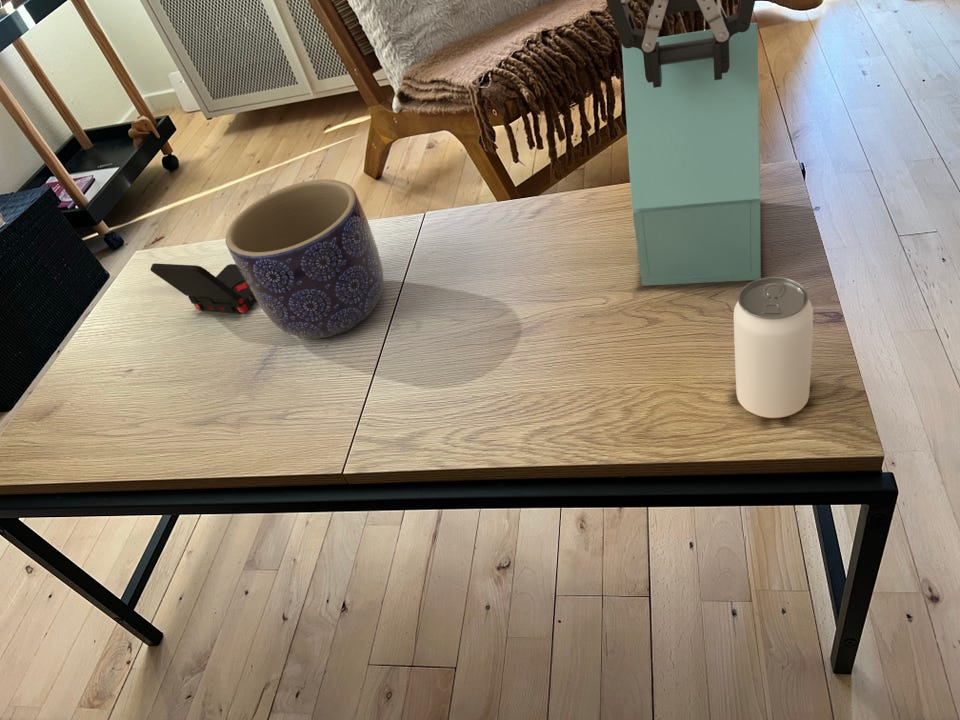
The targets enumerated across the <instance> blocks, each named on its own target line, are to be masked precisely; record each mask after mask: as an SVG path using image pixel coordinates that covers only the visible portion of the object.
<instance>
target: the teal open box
mask: <svg viewBox="0 0 960 720" xmlns="http://www.w3.org/2000/svg"><path fill="white" fill-rule="evenodd" d="M632 219H633V226H634V234H635V241H636V251H637V257H638V265H639V273H640V280H641V287H646V286H647V287H648V286H650V287H651V286H666V285H668V286H669V285H686V284H705V283H706V284H707V283H723V282H724V283H725V282H726V283H727V282H743V281H755V280H758V279H761V278H762V251H761V250H762V248H761V247H762V246H761V245H762V241H761V240H762V239H761V235H762V234H761V233H762V232H761V231H762V230H761V223H762V222H761V198H760V199H754V200H742V201H730V202H718V203H706V204H694V205H682V206H671V207H659V208H647V209H635V210H632Z"/></svg>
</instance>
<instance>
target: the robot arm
mask: <svg viewBox="0 0 960 720" xmlns="http://www.w3.org/2000/svg"><path fill="white" fill-rule="evenodd" d="M605 2H606V4H607V7H608V9H609V13H610V16H611V18H612V21H613V23H614V25H615V26H614V27H615V29H616V32H617V34H618V37H619V39H620V40H619V41H621V46H622V45H623V47H625V48H632V47H634V48H638V49H640V50H641V51H642V52H643V58H644V67H645V77H646V80H647V81H648V83H649V82H653V87H654V88H657V87H661V83H662V72H661V65H660V61H659V42H657V38H658V37H659V34H660V30H661V28H662V25H663V22H664V18H665V17H667V16H674V15H676V14H679V13H682V12H689V13H691V12H698V11H701V13H702V15H703V17H704V19H705V21H706V23H708V25H709V28H710V29H711V30H712V32H713V57H714V80H721V79H722V73H727V72H728V70H729V39H730V38H731V36H732V35H734V34H736V33H738V32H745V31H747V30H748V29H749V27H750V23H752V17H753V14H754V8H755V4H756V0H738V1H737V6H736V12H735V13H733V14H731V15H729V16H727V15H726V12H725V10H724V8H723V6H722V2H721V0H647V2H648V3H649V4H650V5H651V6H650V9H649V13H648V18H647V20H646V25H645V29H641V28H637V26H636V24H635V21H634V18H633V15H632V12H631V10H630V7H629V4H628V3H629V2H630V0H605Z"/></svg>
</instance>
